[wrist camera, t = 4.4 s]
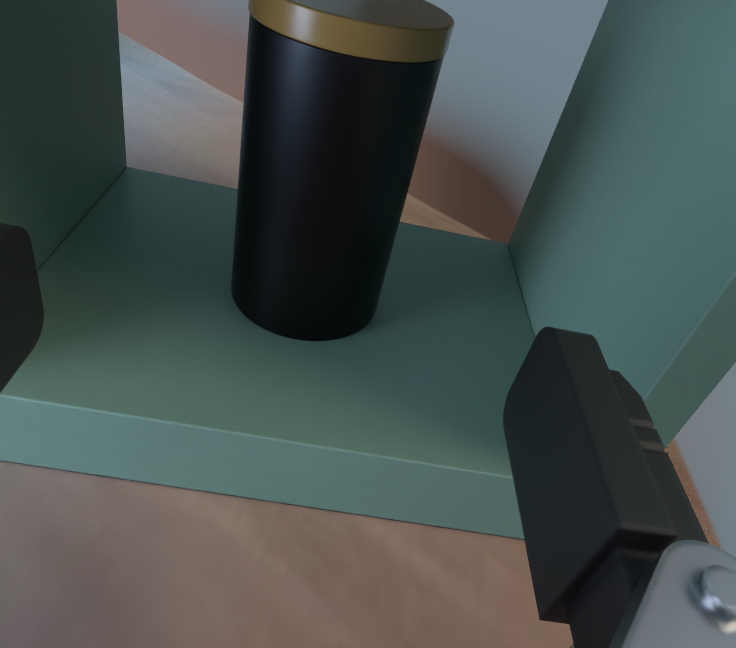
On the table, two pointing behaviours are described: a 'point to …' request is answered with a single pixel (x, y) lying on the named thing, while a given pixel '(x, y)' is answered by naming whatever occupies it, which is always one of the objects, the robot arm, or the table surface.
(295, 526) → the table surface
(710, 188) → the shelf
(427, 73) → the black tea tin
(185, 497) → the table surface
